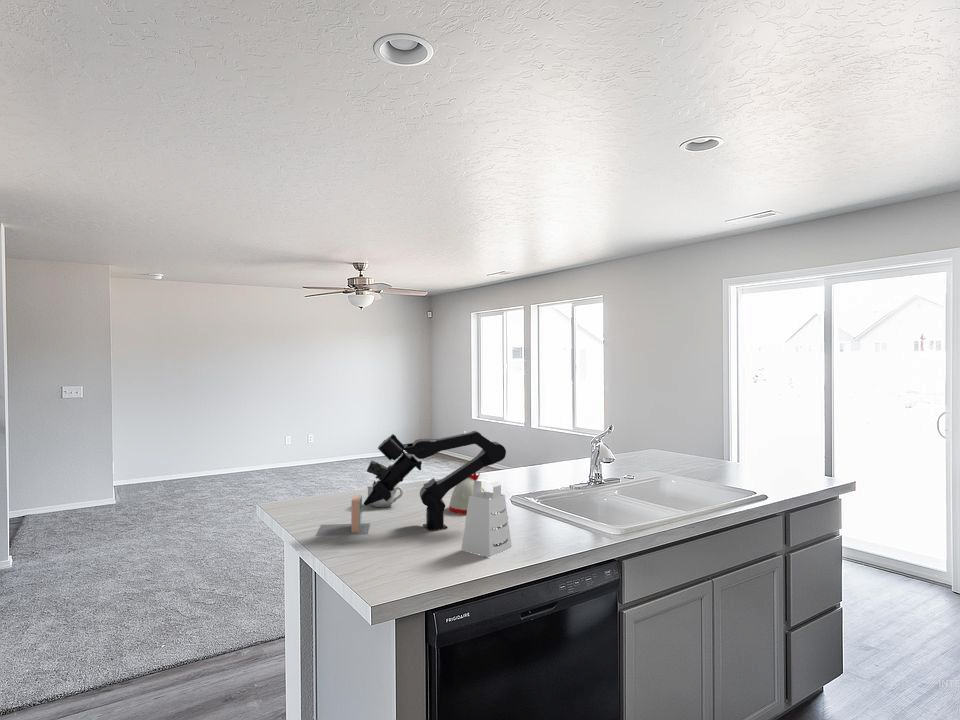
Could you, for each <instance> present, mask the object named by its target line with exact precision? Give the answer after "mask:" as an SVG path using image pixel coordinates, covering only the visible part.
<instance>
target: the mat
mask: <svg viewBox="0 0 960 720" xmlns="http://www.w3.org/2000/svg"><path fill="white" fill-rule="evenodd" d="M370 527H371V523H370V522H369V523H365V522H364V523H362V526H361V530H360V532H359V533H351V523H339V524H338V523H337V524H332V523H331V524H320V526H319V527H318V530H317V532H316V534H315V537H321V536H345V535H346V536H353V535H354V536H355V535H356V536H357V535H359V536H360V535H368V534H369V532H370V531H369V530H370Z"/></svg>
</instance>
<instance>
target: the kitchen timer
mask: <svg viewBox="0 0 960 720" xmlns="http://www.w3.org/2000/svg"><path fill="white" fill-rule="evenodd" d="M480 474H481V473H480V472H478V474H477V472H476V473H474V474H473V475H471V476H470V477H468V478H467V479H465V480H464V481H462V482H461V483H459V484H458V485H456V486H455V487H453V488H454V489H453V491H452V493H451V497H450V501H449V511H450V512H451V513H453V512H454V513H453V514H457V513H458V514H457V515H467V508H468V501H469V496H470V495H473V483H474V482H475V481H476V480H479V477H480ZM481 492H485V489H484V488H483V487H482V486H481Z"/></svg>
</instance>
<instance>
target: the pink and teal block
mask: <svg viewBox="0 0 960 720" xmlns="http://www.w3.org/2000/svg"><path fill="white" fill-rule="evenodd" d="M350 524H351V533H359V532H360V530H361V526H362V524H363V496H362V494H354V495H353V497H352V500H351V523H350Z"/></svg>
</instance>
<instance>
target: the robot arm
mask: <svg viewBox="0 0 960 720" xmlns="http://www.w3.org/2000/svg"><path fill="white" fill-rule="evenodd" d="M471 445H476V446H478V447H479V448H480V449H481V450H480V452H479V453H478V454H477V455H476V456H475V457H474V458H472V459H470V460H468V462H466V463H464V464H463V465H461V466H460V467H459V468H457V469H456V470H454V471H452V472H451V473H449V474H448V475H446V476H444V477H443V478H442V479H438V480H436V479H435V478H434V477H433V478H431V479H430V480H429V481H428V482H426V483H423V486H422V487H421V488H420V490H419V497H420V500H421V502H422V504H423V505H425V506H426V508H425V509H426V510H425V511H426V514H425V515H426V519H425V520H426V522H425V523H423V524H422V527H423V528H425V529H426V530H428V531H436V530H437V531H438V530H444V529H445V530H446V529H448V525H446V524H445V523H444V522H445V519H444V517H445V508H446V504H445V502H444V500H443V498H444V497H445V496H446V494H447V493H448V492H449V491H450V490H451V489H453V488H455V487H456V485H458V484H459V483H461V482H462V481H464V480H465V479H467V478H468V477H470V476H471V475H473V474H474V473H476V474H477V472H478V471H480V470H482V469H483V468H485V467H489V466H491V465H495V464H497V463H499V462H501V461H503V460H504V459H505V458H506V455H507V451H506V447H505V446H504V445H502V444H500V443H499V442H497V441H490V440H489V439H488V438H487V437H485V436H484V435H482V434H481V433H480V432H479V431H477V430H472V431H469V432H466V433H465V432H464V433H461V434H455V435H451V436H446V437H442V438H418V439H416V440H414V441H413V442H410V443H402V441H400V440H399V439H398V437H397V436H396V435H395V434H394V433H392V434H391V435H389V436H388V437H387V438H386V439H383V441H382V442H381V443H380V444H379V445H378V447H377V450H379V452H381V454H382V455H384V456H385V457H386V458H387V459H388V460H389V461H391V460H392V461H395V462H394V463H392V464H390V465H388V466H385V465H383V464H382V463H379V462H377V461H374V460H371V461H370V463H369V464H368V467H367V469H366V472H367V473H369V474H373V475H374V476H375V479H377V481H376V480H374V481H373V483H372V484H373V490H372V491H371V493H370V494H369V496H368V495H367V497H366V499H365V500H364V502H363V505H364V506H365V507H367V506H369V505H372V503H374V502H377V501H379V500H382V499H384V500H385V501H388V500H389V499H390V498H391V491H393V490H394V487H395V486H396V487H397V485H398V484H399V483H402V482H403V481H404V479H405V478H406V477H407V475H409V474H410V473H411V472H412V471H413V470H414V469H415V468H417V470H418V471H421V470H422V463H423V462H422V460H424V459H427V458H429V457H432V456H434V455H436V454H438V453H439V452H442V451H447V450H452V449H457V448H461V447H466V446H471ZM417 459H420V460H417Z"/></svg>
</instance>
